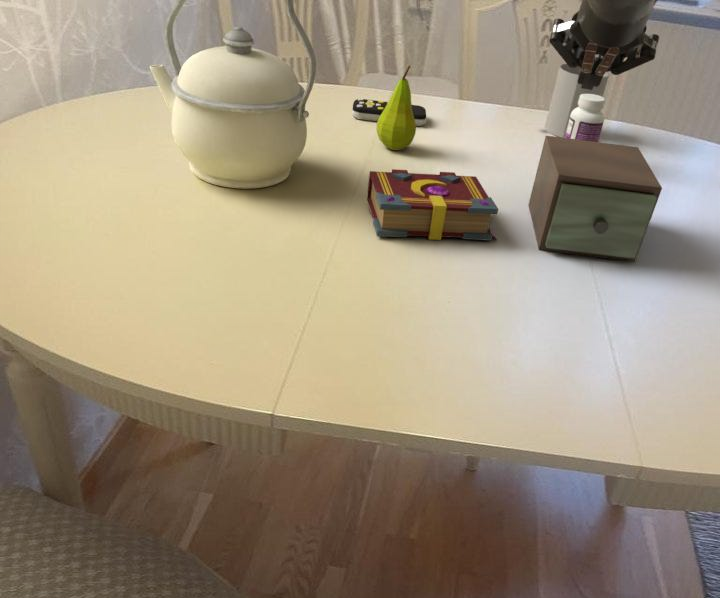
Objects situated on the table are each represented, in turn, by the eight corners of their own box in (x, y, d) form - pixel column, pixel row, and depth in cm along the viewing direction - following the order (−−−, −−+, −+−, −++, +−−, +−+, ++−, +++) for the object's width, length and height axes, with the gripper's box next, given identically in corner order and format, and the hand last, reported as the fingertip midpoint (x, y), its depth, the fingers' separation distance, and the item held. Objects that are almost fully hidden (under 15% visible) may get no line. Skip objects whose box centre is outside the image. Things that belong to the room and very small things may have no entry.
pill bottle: (597, 161, 125) (616, 99, 118) (581, 168, 122) (600, 104, 115) (569, 151, 127) (586, 89, 121) (553, 158, 124) (569, 94, 118)
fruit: (366, 144, 120) (374, 61, 112) (394, 138, 124) (404, 57, 116) (393, 158, 117) (404, 73, 109) (421, 151, 120) (433, 68, 112)
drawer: (636, 263, 95) (659, 202, 90) (547, 252, 95) (564, 190, 90) (615, 215, 106) (634, 159, 101) (535, 205, 106) (550, 148, 101)
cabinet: (635, 261, 97) (662, 187, 91) (538, 249, 97) (558, 174, 91) (615, 216, 108) (638, 147, 102) (528, 205, 108) (545, 135, 102)
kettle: (337, 169, 111) (352, -32, 94) (275, 211, 98) (280, -14, 81) (193, 130, 117) (183, -65, 101) (117, 165, 104) (91, -53, 88)
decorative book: (365, 202, 103) (368, 165, 100) (478, 207, 106) (485, 171, 102) (376, 239, 95) (381, 200, 92) (499, 243, 98) (508, 205, 94)
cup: (564, 121, 140) (580, 61, 133) (600, 135, 135) (618, 74, 129) (535, 127, 135) (550, 65, 129) (571, 142, 131) (588, 79, 124)
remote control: (425, 127, 129) (427, 115, 128) (351, 119, 129) (352, 106, 128) (424, 116, 134) (426, 104, 133) (353, 108, 133) (354, 96, 132)
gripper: (693, -36, 79) (645, 63, 97) (568, -56, 81) (542, 46, 98) (678, 32, 79) (632, 119, 96) (553, 11, 80) (530, 101, 98)
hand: (587, 82), depth 97 cm, fingers closed
